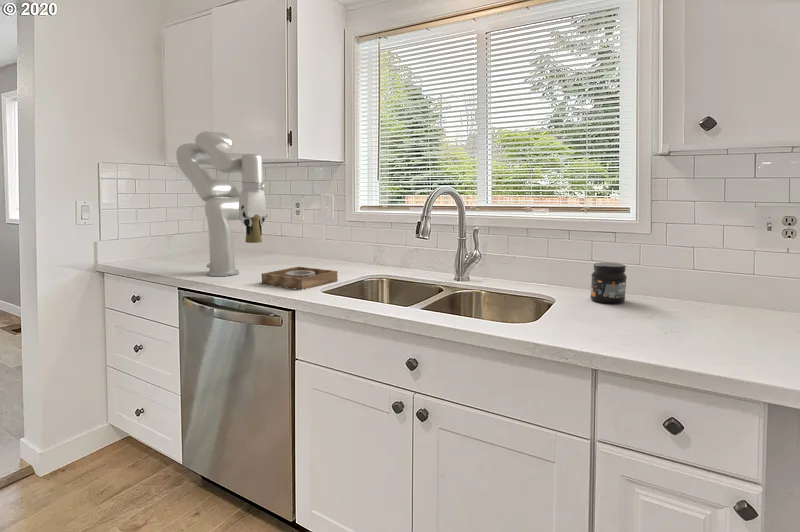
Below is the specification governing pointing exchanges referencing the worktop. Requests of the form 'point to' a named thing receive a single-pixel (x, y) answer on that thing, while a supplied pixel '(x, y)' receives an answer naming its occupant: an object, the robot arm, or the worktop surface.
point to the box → (299, 277)
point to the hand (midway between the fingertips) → (254, 235)
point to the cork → (254, 231)
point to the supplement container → (608, 283)
